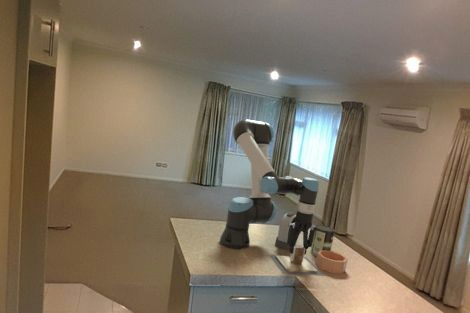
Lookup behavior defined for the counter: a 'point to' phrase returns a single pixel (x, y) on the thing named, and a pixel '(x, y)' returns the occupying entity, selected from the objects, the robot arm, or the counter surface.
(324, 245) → the coffee can
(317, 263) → the bowl
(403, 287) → the counter surface
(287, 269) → the lid
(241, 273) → the counter surface
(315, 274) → the mat
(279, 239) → the alarm clock
